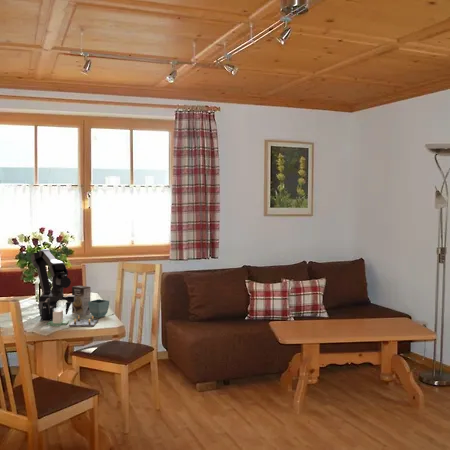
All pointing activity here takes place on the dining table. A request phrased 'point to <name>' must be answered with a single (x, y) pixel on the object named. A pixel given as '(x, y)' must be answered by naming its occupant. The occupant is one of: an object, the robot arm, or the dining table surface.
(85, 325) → the chassis
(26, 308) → the dining table surface
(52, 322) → the block on green base
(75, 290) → the coffee box
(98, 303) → the flower pot
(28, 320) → the dining table surface
